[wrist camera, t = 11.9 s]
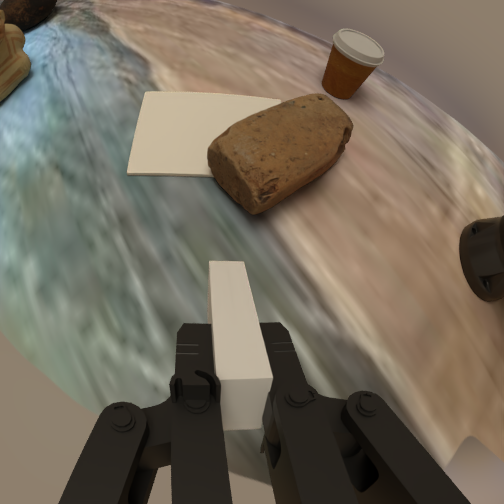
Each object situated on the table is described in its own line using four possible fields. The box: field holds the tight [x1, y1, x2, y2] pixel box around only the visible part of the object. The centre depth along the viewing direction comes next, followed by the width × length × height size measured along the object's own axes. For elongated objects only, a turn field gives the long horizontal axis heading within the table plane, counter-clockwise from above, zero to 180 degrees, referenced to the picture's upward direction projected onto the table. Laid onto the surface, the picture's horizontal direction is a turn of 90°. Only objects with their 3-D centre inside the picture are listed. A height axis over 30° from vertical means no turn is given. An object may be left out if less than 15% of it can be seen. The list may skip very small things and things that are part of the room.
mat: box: [127, 92, 281, 177], centre depth 43 cm, size 22×16×1 cm
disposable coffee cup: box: [322, 29, 384, 99], centre depth 46 cm, size 10×10×12 cm
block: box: [207, 94, 353, 215], centre depth 39 cm, size 11×8×20 cm
